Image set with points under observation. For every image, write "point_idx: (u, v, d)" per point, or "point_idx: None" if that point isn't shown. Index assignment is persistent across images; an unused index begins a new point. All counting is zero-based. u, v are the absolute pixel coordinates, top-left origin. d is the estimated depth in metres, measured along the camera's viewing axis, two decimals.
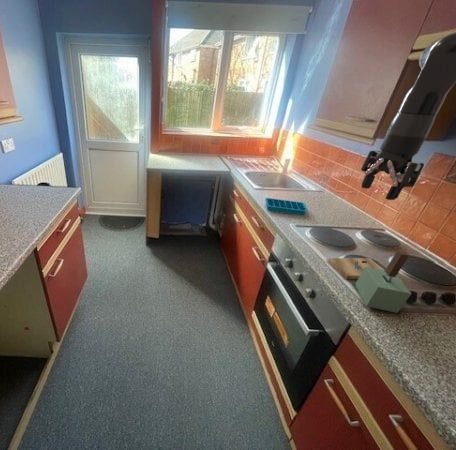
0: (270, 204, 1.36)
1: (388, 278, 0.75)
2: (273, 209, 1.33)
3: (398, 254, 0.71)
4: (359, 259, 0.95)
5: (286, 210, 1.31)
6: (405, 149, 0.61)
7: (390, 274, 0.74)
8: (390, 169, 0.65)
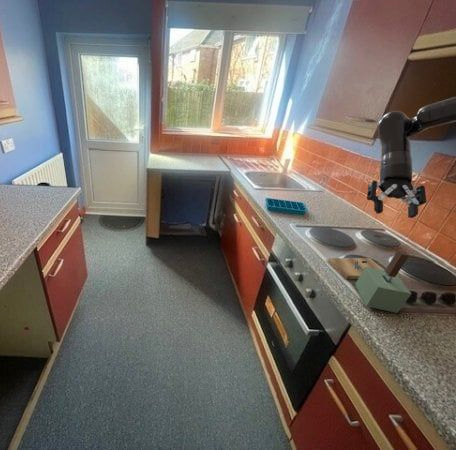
0: (270, 204, 1.36)
1: (388, 278, 0.75)
2: (273, 209, 1.33)
3: (398, 254, 0.71)
4: (359, 259, 0.95)
5: (286, 210, 1.31)
6: None
7: (390, 274, 0.74)
8: (407, 191, 0.77)
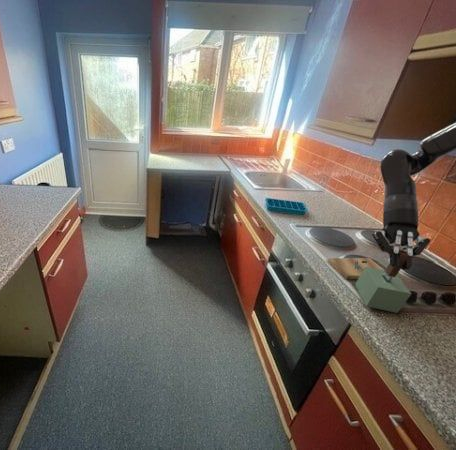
0: (270, 204, 1.36)
1: (388, 278, 0.75)
2: (273, 209, 1.33)
3: (399, 254, 0.71)
4: (359, 259, 0.95)
5: (286, 210, 1.31)
6: None
7: (390, 274, 0.74)
8: (409, 239, 0.71)
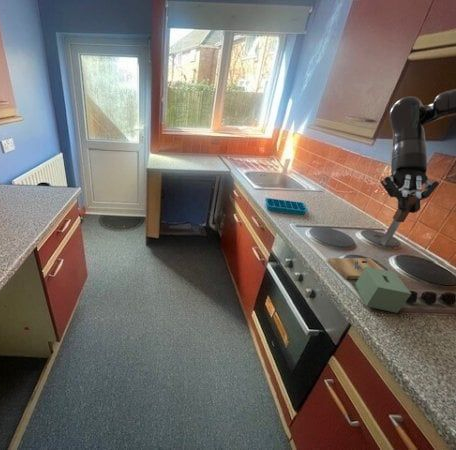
0: (270, 204, 1.36)
1: (396, 224, 0.75)
2: (273, 209, 1.33)
3: (407, 197, 0.72)
4: (359, 259, 0.95)
5: (286, 210, 1.31)
6: (426, 166, 0.72)
7: (398, 219, 0.74)
8: (417, 182, 0.71)
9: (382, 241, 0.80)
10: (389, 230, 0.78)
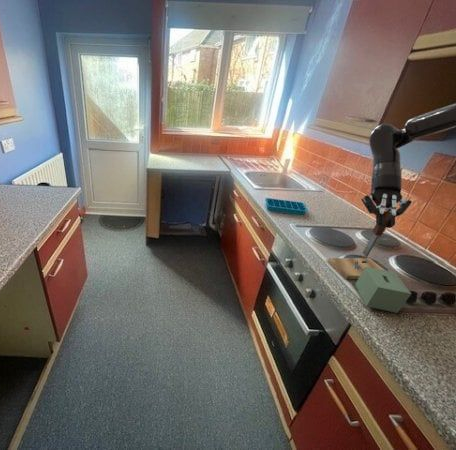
0: (270, 204, 1.36)
1: (375, 237, 0.84)
2: (273, 209, 1.33)
3: (384, 214, 0.81)
4: (359, 259, 0.95)
5: (286, 210, 1.31)
6: None
7: (377, 233, 0.83)
8: (393, 201, 0.81)
9: (364, 252, 0.89)
10: (369, 242, 0.87)
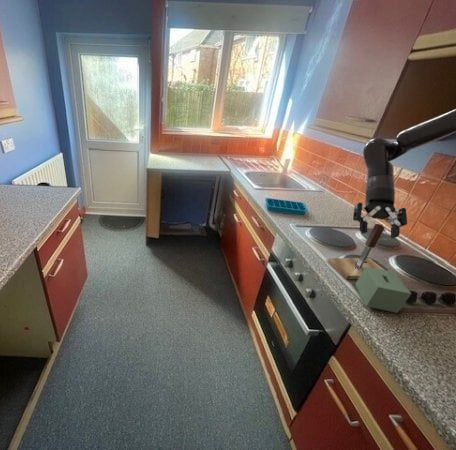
0: (270, 204, 1.36)
1: (368, 249, 0.87)
2: (273, 209, 1.33)
3: (376, 227, 0.84)
4: None
5: (286, 210, 1.31)
6: (394, 199, 0.84)
7: (369, 245, 0.86)
8: (389, 213, 0.83)
9: (358, 263, 0.92)
10: (363, 254, 0.90)
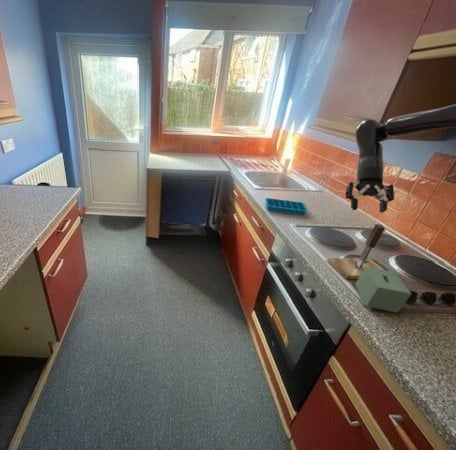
0: (270, 204, 1.36)
1: (368, 249, 0.87)
2: (273, 209, 1.33)
3: (376, 227, 0.84)
4: None
5: (286, 210, 1.31)
6: None
7: (369, 245, 0.86)
8: (378, 190, 0.91)
9: (358, 263, 0.92)
10: (363, 254, 0.89)
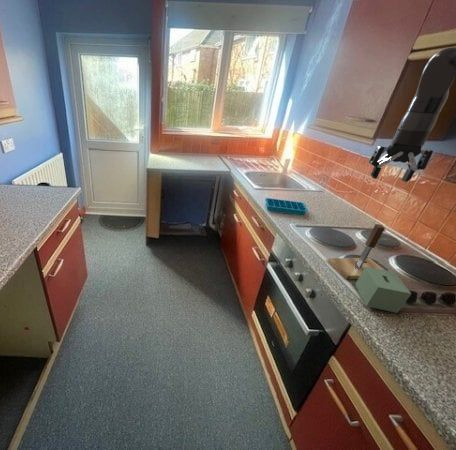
0: (270, 204, 1.36)
1: (368, 249, 0.87)
2: (273, 209, 1.33)
3: (376, 227, 0.84)
4: None
5: (286, 210, 1.31)
6: None
7: (369, 245, 0.86)
8: (410, 158, 0.78)
9: (358, 263, 0.92)
10: (363, 254, 0.89)
